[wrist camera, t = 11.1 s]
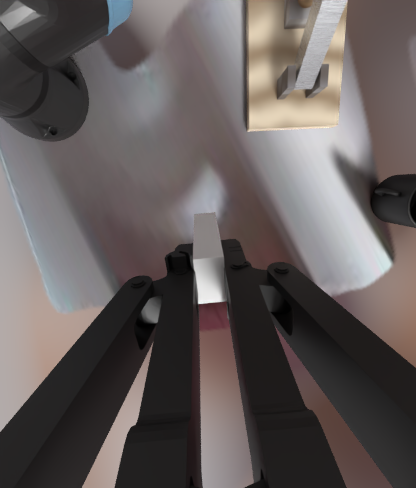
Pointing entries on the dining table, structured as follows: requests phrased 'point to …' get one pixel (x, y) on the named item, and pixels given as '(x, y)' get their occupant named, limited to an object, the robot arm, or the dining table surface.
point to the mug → (396, 200)
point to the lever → (316, 40)
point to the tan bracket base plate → (288, 69)
